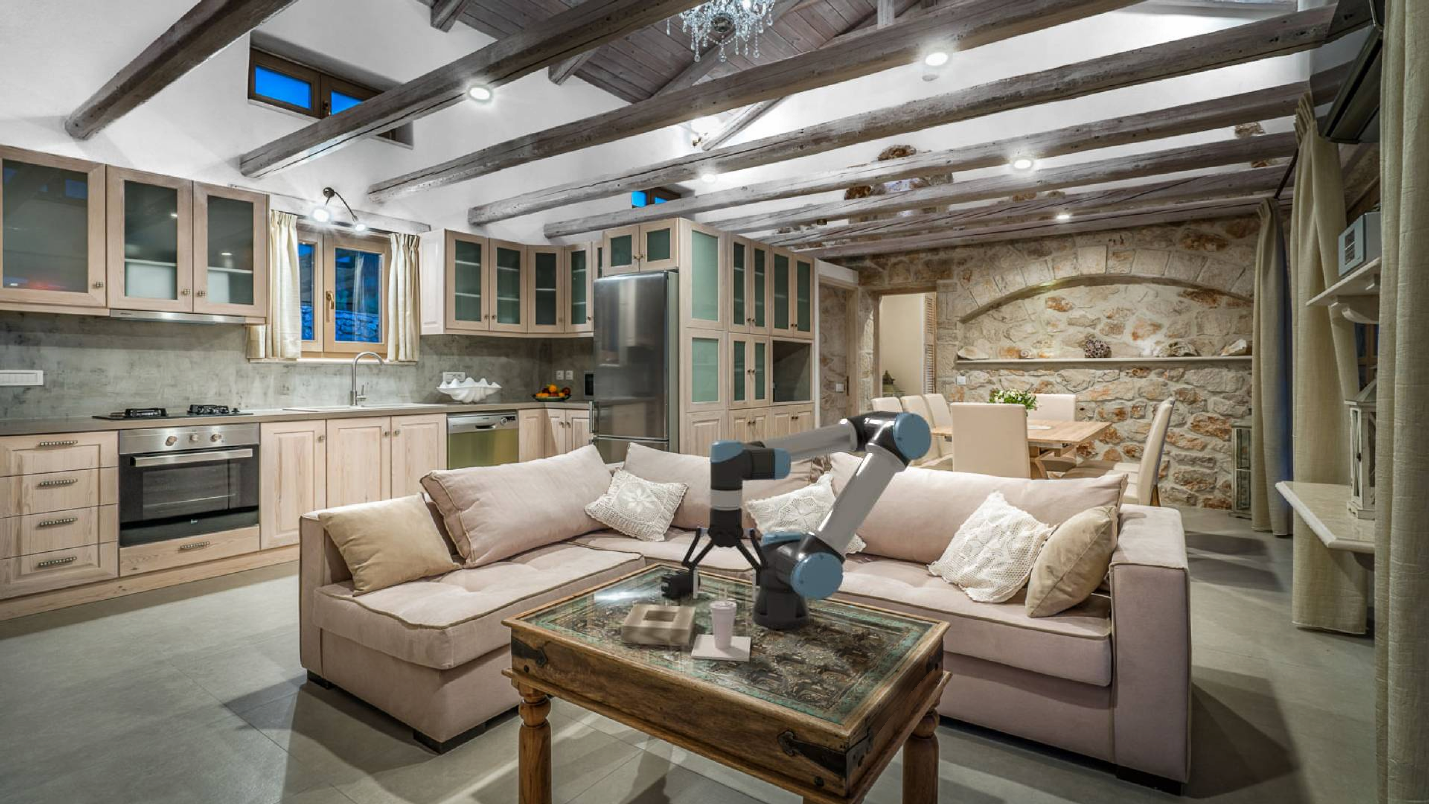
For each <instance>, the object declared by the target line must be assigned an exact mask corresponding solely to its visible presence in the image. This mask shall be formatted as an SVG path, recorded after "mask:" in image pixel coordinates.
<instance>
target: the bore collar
mask: <svg viewBox="0 0 1429 804" xmlns="http://www.w3.org/2000/svg"><path fill="white" fill-rule="evenodd" d="M696 614H697V607H696V606H680V605H679V606H678V605H661V604H642V603H634V605H633V606H632V608H631V610H630V611H629V612H628V614H627V616H626V617H625V619H624V620H623V621H622V623H621V624H620V643H626V644H627V643H628V644H642V645H658V646H677V647H688V646H689V645H690V640H691V638H692V634H693V632H694V629H695V625H696V622H697V621H696V619H697V615H696Z"/></svg>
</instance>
